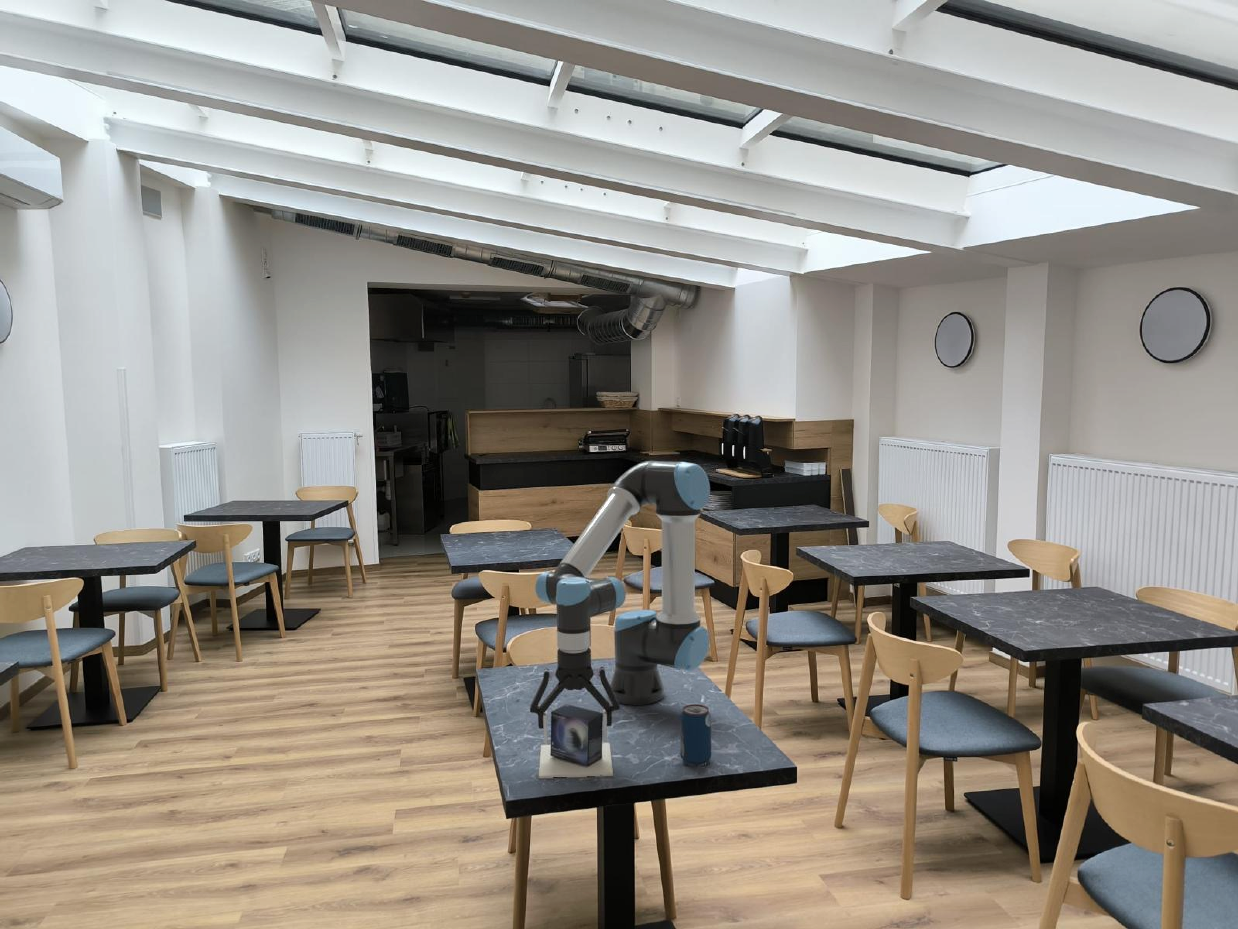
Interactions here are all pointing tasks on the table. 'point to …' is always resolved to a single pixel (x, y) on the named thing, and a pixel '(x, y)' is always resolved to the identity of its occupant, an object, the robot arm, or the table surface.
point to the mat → (573, 765)
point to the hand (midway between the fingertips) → (575, 741)
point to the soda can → (695, 734)
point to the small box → (576, 734)
